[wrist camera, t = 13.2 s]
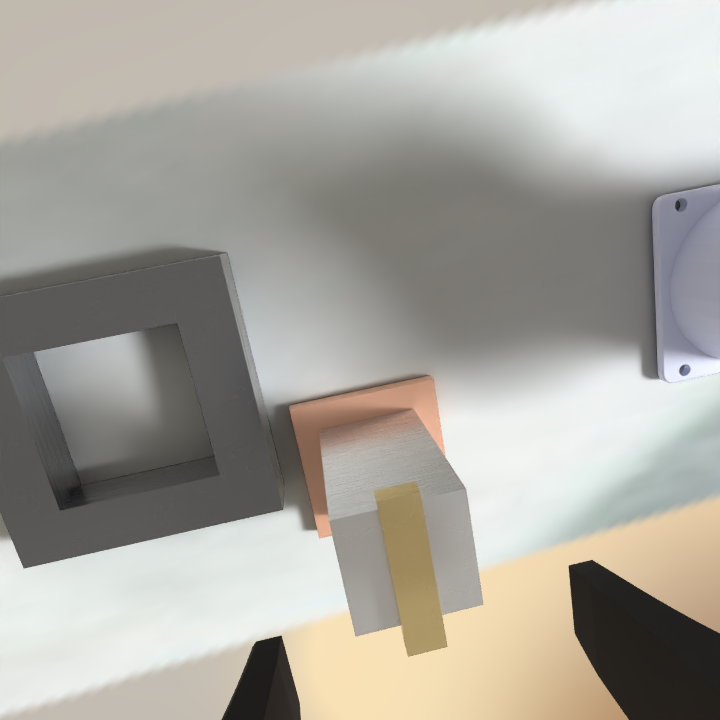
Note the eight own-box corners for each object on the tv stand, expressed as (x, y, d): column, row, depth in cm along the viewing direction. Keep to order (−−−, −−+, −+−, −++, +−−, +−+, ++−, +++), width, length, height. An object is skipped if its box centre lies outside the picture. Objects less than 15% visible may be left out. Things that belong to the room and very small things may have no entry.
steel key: (430, 505, 23) (492, 635, 16) (340, 526, 23) (361, 668, 15) (411, 394, 22) (470, 479, 14) (315, 415, 21) (325, 513, 14)
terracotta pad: (429, 375, 22) (433, 379, 22) (449, 500, 24) (453, 507, 23) (289, 405, 22) (289, 410, 21) (318, 530, 23) (319, 538, 23)
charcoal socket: (227, 252, 20) (219, 255, 18) (284, 485, 23) (283, 509, 21) (-44, 304, 19) (-82, 312, 17) (47, 538, 22) (23, 568, 20)
